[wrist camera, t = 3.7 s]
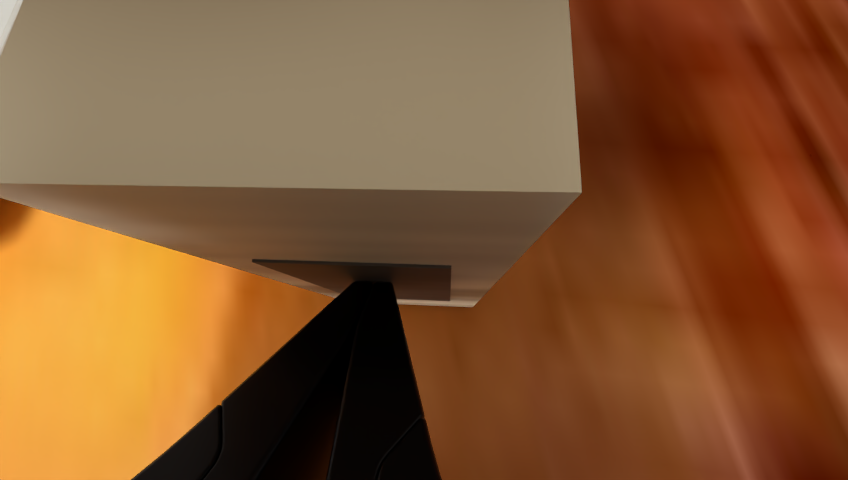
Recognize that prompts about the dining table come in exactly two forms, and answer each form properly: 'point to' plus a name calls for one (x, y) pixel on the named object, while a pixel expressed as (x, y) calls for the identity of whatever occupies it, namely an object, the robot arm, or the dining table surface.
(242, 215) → the metal block
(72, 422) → the dining table surface
